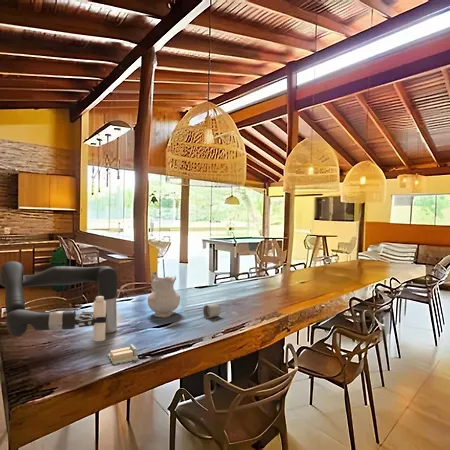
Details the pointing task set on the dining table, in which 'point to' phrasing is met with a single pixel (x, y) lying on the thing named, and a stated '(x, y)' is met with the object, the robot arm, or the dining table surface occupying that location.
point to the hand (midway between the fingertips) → (106, 317)
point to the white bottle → (99, 312)
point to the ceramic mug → (211, 310)
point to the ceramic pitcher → (163, 296)
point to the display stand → (123, 354)
